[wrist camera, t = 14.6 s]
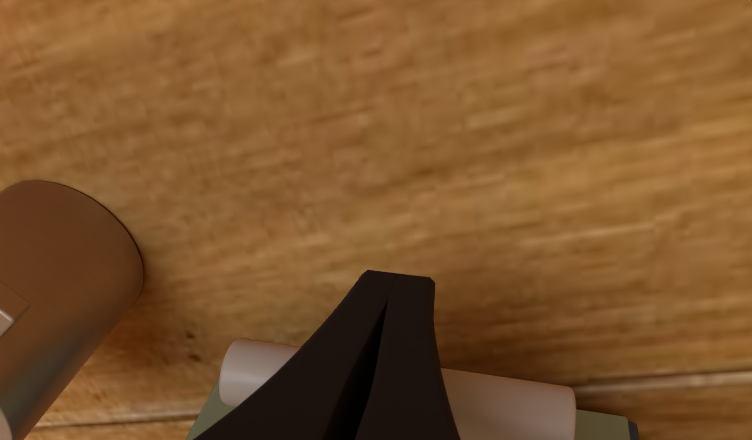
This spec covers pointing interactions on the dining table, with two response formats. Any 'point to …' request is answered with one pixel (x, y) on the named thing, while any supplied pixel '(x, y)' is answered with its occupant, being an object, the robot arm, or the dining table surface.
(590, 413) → the drawer
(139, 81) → the dining table surface
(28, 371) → the measuring cup
